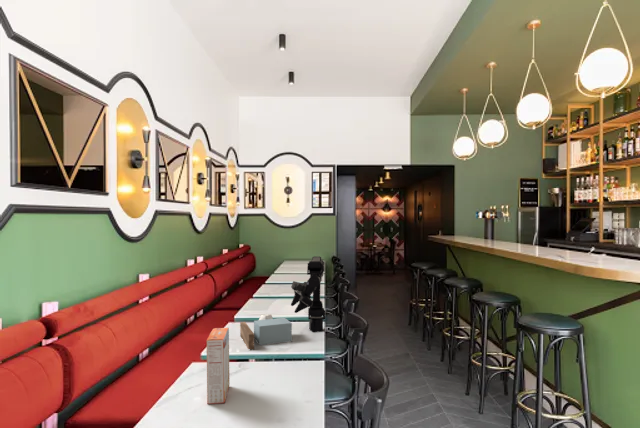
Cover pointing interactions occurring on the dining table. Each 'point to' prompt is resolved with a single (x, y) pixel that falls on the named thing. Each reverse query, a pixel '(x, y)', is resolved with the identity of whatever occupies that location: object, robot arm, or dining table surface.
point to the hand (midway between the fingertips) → (293, 309)
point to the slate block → (272, 331)
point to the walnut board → (247, 335)
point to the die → (265, 316)
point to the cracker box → (217, 365)
